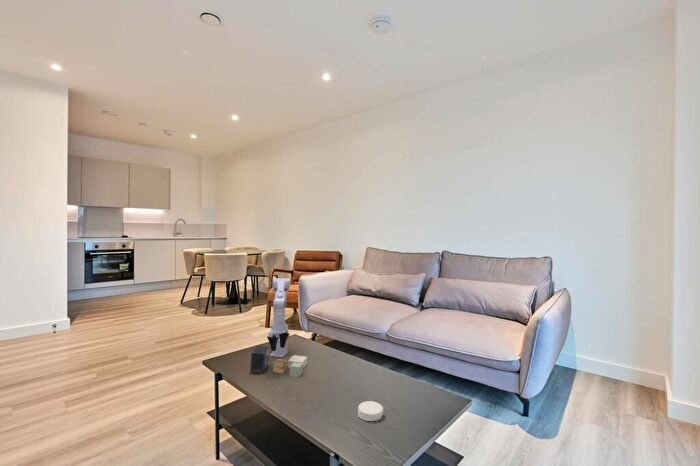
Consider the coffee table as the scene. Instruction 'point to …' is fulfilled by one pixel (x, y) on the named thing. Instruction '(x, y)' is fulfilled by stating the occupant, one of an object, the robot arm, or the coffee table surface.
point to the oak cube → (280, 366)
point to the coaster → (370, 410)
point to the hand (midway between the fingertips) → (278, 349)
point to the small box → (259, 360)
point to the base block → (297, 360)
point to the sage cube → (296, 369)
